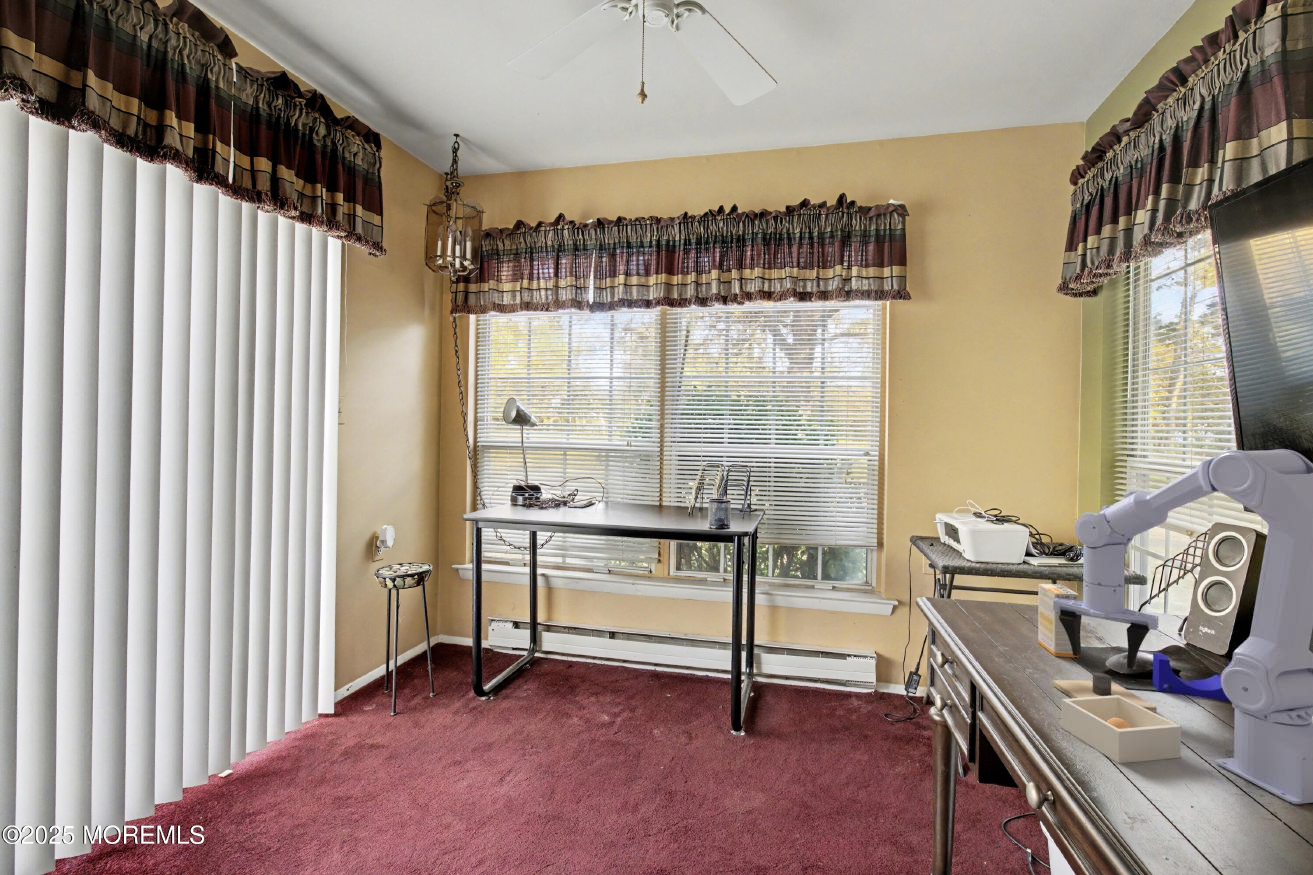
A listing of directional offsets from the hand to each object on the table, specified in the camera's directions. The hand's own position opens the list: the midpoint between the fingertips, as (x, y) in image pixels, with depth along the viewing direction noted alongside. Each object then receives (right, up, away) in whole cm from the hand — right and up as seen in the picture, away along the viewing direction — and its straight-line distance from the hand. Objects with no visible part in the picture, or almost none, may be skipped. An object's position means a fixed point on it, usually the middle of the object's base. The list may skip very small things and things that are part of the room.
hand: (1103, 660), depth 104 cm
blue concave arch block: (+18, -7, +2) cm, 20 cm away
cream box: (-8, -7, -14) cm, 18 cm away
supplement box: (+7, -6, +22) cm, 24 cm away
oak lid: (0, -6, 0) cm, 6 cm away
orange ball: (-8, -5, -14) cm, 17 cm away
